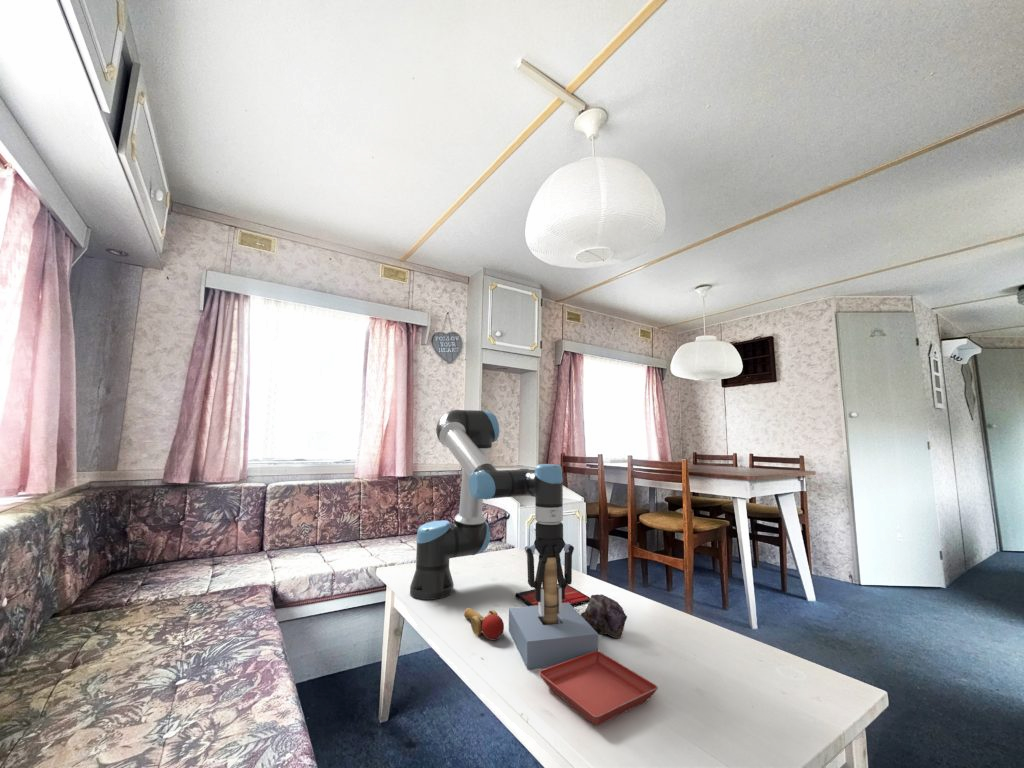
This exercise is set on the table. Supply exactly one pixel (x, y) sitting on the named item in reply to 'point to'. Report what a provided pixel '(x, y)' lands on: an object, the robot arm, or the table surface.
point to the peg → (550, 592)
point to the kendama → (485, 623)
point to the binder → (570, 596)
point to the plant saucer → (598, 686)
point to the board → (550, 636)
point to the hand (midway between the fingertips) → (550, 613)
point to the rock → (605, 615)
